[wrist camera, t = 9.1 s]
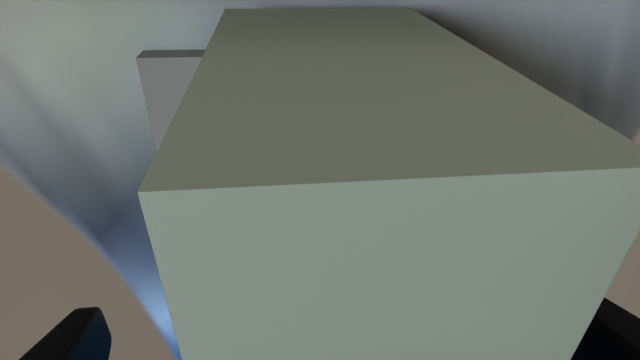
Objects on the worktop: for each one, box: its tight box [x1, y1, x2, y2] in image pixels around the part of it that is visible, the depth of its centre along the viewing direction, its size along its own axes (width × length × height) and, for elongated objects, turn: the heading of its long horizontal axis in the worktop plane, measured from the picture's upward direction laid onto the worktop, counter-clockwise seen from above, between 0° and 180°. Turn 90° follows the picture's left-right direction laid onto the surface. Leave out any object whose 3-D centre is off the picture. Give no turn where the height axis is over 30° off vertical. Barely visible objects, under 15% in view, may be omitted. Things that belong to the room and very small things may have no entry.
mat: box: [136, 50, 205, 152], centre depth 12 cm, size 8×8×1 cm
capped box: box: [138, 8, 640, 360], centre depth 8 cm, size 4×8×7 cm, turn 179°
